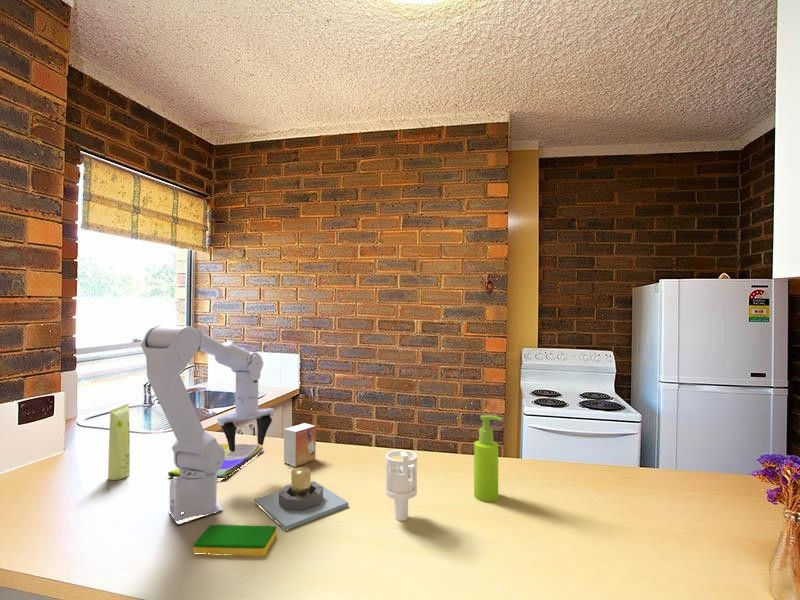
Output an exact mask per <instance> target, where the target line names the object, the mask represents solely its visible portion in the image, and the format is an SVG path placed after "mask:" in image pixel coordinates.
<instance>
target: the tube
mask: <svg viewBox="0 0 800 600" xmlns="http://www.w3.org/2000/svg"><path fill="white" fill-rule="evenodd" d="M129 408H130V406H129V403H128V402H127V403H126V404H123V405H121V406H118V407H116V408H113V409H111V410H110V415H109V417H110V418H109V439H108V462H107V464H108V466H107V467H108V468H107V469H108V470H107V479H108V480H111V481H118V480H121V479H125V478H126V477H127V478H128V476H130V471H131V470H130V466H131V462H130V461H131V459H130V457H131V455H130V453H131V452H130V451H131V450H130V449H131V448H130V446H131V445H130V443H131V441H130V438H131V435H130V434H131V433H130V409H129Z"/></svg>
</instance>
